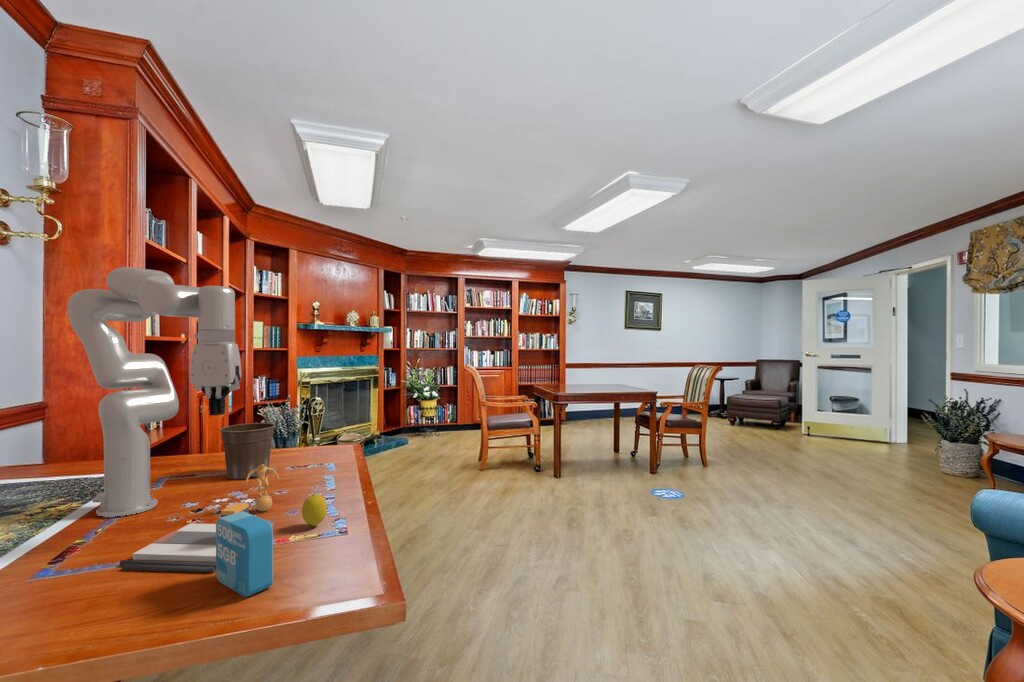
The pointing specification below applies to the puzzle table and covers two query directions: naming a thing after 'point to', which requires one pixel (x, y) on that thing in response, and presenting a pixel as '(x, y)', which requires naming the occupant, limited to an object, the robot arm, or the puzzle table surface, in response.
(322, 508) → the lemon
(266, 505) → the figurine
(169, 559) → the panel
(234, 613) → the puzzle table surface
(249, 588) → the data package
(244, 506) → the toggle
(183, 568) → the cords
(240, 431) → the plant pot
